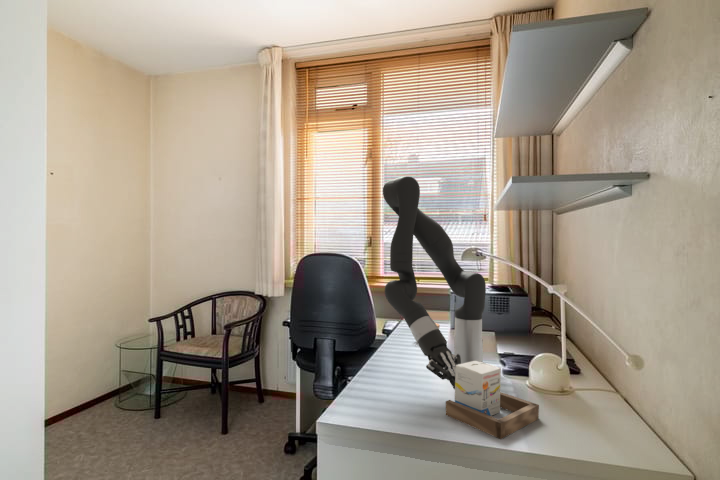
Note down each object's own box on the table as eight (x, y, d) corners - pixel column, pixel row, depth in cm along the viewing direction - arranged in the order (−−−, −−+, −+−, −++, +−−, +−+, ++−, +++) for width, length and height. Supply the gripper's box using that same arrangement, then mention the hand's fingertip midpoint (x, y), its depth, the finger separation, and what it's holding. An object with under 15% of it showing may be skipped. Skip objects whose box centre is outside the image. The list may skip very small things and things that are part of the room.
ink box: (480, 421, 99) (481, 373, 99) (453, 409, 105) (454, 364, 105) (501, 412, 104) (502, 367, 104) (474, 401, 111) (474, 359, 111)
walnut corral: (484, 399, 113) (484, 386, 113) (538, 418, 100) (538, 404, 100) (445, 415, 102) (445, 401, 102) (500, 439, 90) (501, 423, 90)
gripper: (419, 331, 111) (454, 388, 102) (449, 325, 120) (484, 378, 110) (405, 346, 116) (437, 402, 106) (435, 339, 124) (468, 391, 114)
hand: (461, 390), depth 108 cm, fingers closed
